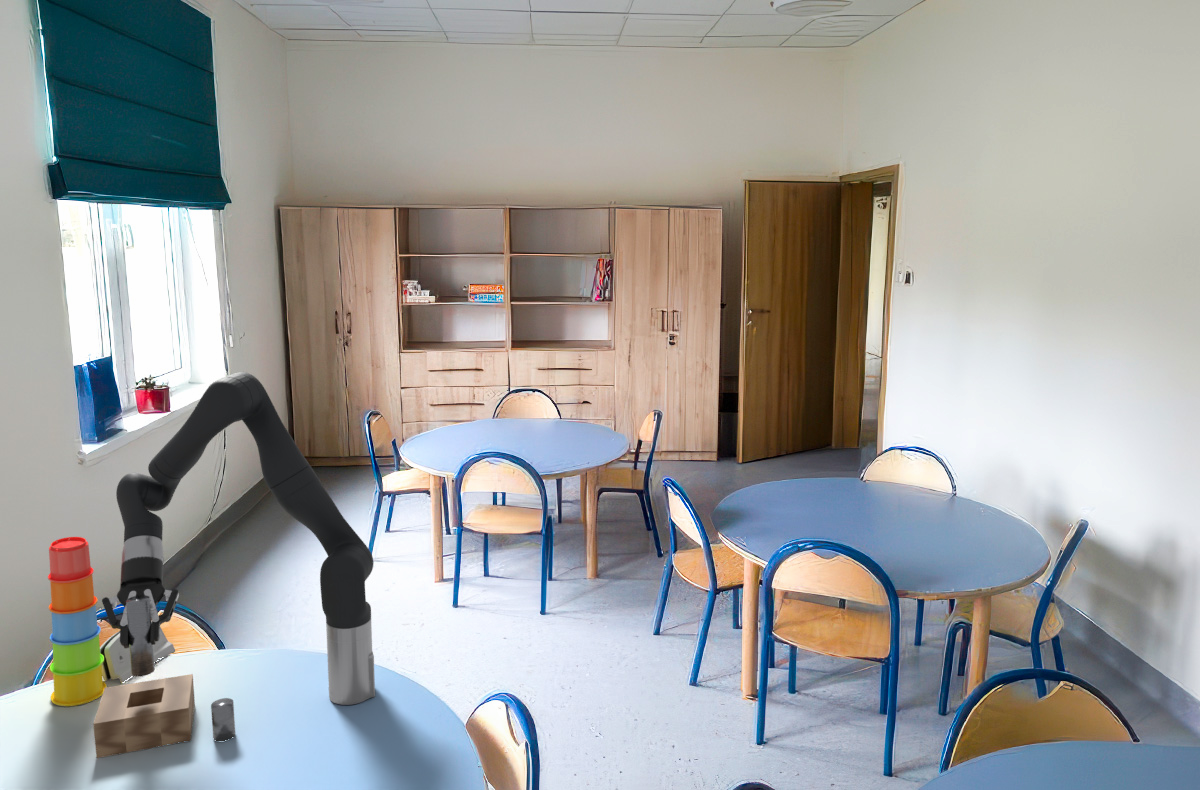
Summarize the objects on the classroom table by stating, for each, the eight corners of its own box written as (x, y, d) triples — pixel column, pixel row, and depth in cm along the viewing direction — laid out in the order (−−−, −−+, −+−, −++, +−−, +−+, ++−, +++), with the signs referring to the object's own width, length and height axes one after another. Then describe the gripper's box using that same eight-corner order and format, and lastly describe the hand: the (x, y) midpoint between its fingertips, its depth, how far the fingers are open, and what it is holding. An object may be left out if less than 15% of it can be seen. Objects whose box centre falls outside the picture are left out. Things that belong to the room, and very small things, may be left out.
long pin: (155, 664, 169) (150, 594, 167) (153, 674, 166) (148, 602, 163) (132, 668, 168) (127, 596, 165) (130, 677, 164) (124, 605, 161)
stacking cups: (111, 679, 188) (98, 529, 182) (101, 703, 178) (86, 545, 172) (58, 686, 184) (43, 534, 178) (44, 710, 175) (27, 550, 169)
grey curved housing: (121, 684, 186) (105, 642, 185) (105, 688, 187) (89, 646, 186) (176, 649, 202) (161, 611, 201) (161, 653, 203) (146, 615, 202)
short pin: (235, 728, 170) (233, 696, 168) (235, 739, 166) (233, 706, 165) (213, 732, 168) (211, 700, 167) (212, 743, 165) (210, 710, 163)
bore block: (194, 704, 178) (192, 673, 177) (190, 740, 165) (188, 707, 164) (107, 719, 172) (104, 687, 171) (96, 758, 159) (93, 723, 158)
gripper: (99, 559, 167) (94, 644, 158) (179, 551, 172) (178, 632, 163) (105, 575, 173) (100, 657, 164) (183, 566, 178) (182, 646, 169)
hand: (139, 644), depth 164 cm, fingers closed on long pin, 4 cm apart
